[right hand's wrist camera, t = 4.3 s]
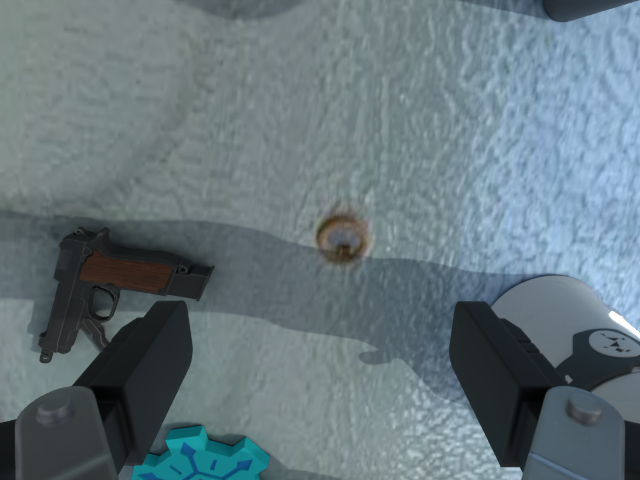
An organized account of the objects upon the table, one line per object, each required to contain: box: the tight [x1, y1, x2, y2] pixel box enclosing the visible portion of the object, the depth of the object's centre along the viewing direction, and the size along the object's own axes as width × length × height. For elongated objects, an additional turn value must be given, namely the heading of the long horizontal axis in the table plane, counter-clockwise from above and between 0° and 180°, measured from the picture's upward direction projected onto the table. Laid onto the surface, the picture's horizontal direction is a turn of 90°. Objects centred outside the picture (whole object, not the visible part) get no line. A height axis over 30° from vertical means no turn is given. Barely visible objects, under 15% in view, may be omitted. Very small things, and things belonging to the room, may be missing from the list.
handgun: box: [38, 227, 215, 363], centre depth 44 cm, size 4×21×15 cm
